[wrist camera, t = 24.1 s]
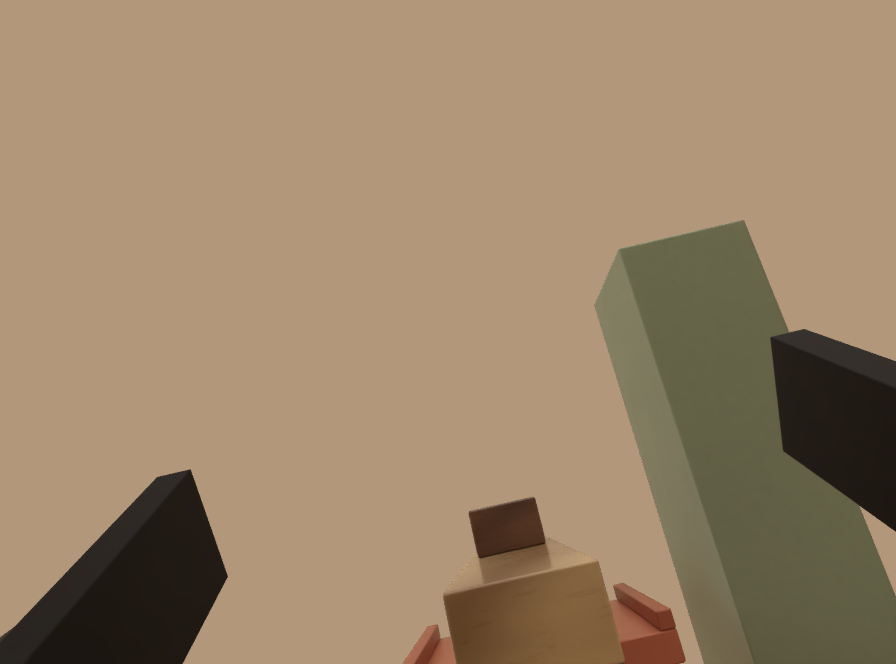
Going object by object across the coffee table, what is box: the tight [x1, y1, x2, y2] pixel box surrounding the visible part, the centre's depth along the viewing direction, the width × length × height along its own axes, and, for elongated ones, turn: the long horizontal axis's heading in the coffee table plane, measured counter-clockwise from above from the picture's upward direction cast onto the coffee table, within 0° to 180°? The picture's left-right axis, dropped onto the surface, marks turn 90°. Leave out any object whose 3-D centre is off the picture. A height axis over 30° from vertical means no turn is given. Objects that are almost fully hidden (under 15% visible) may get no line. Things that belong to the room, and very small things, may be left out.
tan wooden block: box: [443, 497, 625, 664], centre depth 24 cm, size 4×18×5 cm, turn 175°
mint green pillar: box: [594, 220, 896, 664], centre depth 28 cm, size 6×8×33 cm
